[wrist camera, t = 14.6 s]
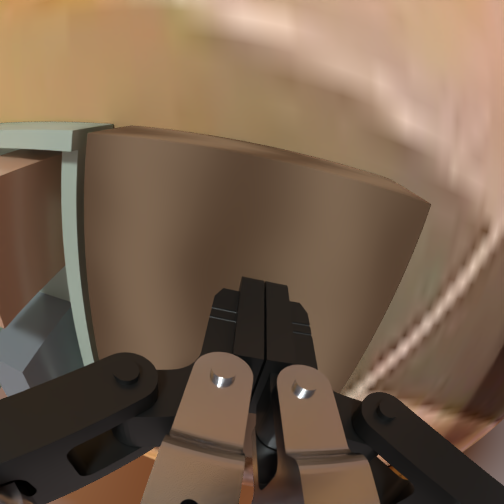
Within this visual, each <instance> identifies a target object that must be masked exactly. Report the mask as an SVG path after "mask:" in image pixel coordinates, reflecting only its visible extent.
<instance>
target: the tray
mask: <svg viewBox="0 0 504 504" xmlns="http://www.w3.org/2000/svg"><path fill="white" fill-rule="evenodd" d="M113 125H114V124H104V123H85V122H11V123H0V155H3V154H6V153H9V152H13V151H16V150H19V149H38V150H54V151H62V171H61V206H62V230H63V244H64V255H65V266H64V267H63V268H62V269H61V270H60V271H59V272H58V273H57V274H56V275H55V276H54V277H53V278H52V279H51V280H50V281H49V282H48V283H47V284H46V285H45V286H44V287H43V288H42V289H41V290H40V291H39V292H42V293H45V294H48V295H51V296H54V297H57V298H60V299H63V300H66V301H70V302H71V308H72V313H73V319H74V324H75V329H76V334H77V339H78V343H79V347H80V352H81V356H82V360H83V364H84V366H86V365H89V364H91V363H93V362H96V361H98V360H99V357H98V352H97V347H96V341H95V335H94V329H93V323H92V316H91V308H90V300H89V292H88V282H87V271H86V257H85V238H84V176H85V157H86V144H87V133H91V132H96V131H102V130H107V129H113ZM2 329H3V328H2V327H0V331H1V330H2ZM1 387H2V386H1V384H0V388H1Z"/></svg>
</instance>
